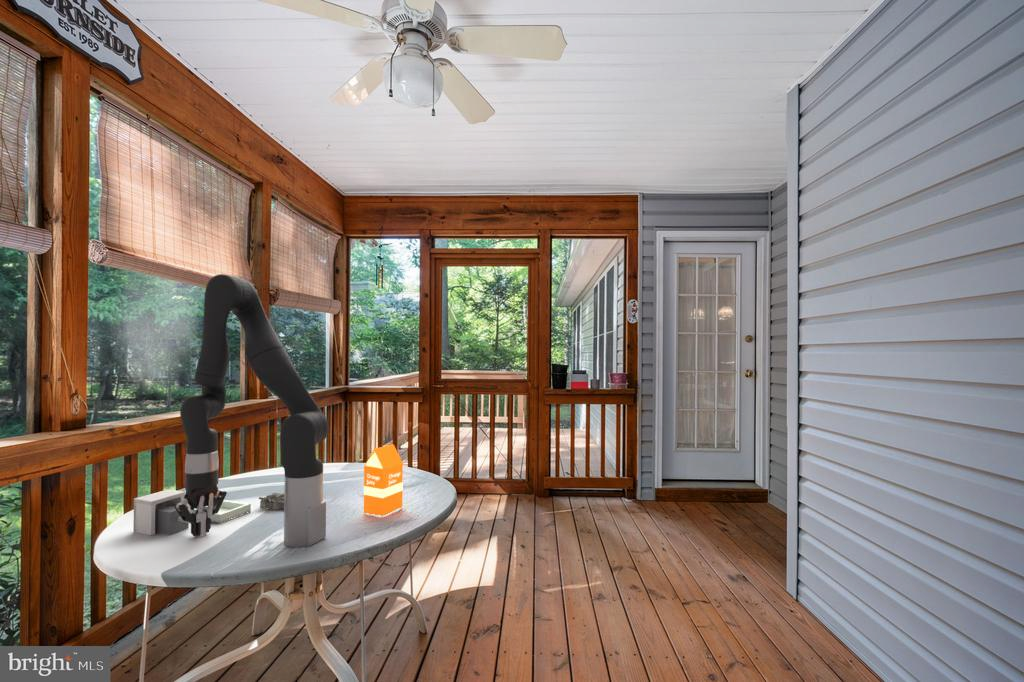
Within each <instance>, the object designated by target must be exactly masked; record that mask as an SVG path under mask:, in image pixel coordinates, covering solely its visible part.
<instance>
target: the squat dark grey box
mask: <svg viewBox="0 0 1024 682" xmlns="http://www.w3.org/2000/svg"><path fill="white" fill-rule="evenodd" d="M174 505H175V504H172V505H169V506H166V507H163V508H159V509H156V510H155V533H159V534H164V535H169V536H171V535H174V534H176V533H175V532H177V533H179V532H182V531H184V529H185V530H187V528H188V529H189V527H190V526H189V525H190V524H191V522H186V521H183V519H182V518H181V517H180V515H179V514H178V512H177V511H176V509H175V508H174ZM187 509H188V510H189V506H188V508H187ZM200 522H201V535H200V536H194V538H195V537H196V538H201V537H203V536H206V535H207V533H206V512H202V513H201V520H200ZM181 530H182V531H181ZM178 531H179V532H178ZM173 533H174V534H173Z"/></svg>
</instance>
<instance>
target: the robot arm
mask: <svg viewBox="0 0 1024 682" xmlns="http://www.w3.org/2000/svg"><path fill="white" fill-rule="evenodd" d="M203 304H204V305H203V319H202V320H203V322H202V337H201V338H202V339H201V345H200V346H201V347H200V353H199V356H198V360H197V365H196V369H195V373H194V382H195V383H196V384H197V385H199V386H201V394H200V393H199V394H194V395H189V396H187V397H186V398H185V399H184V400H183V401H182V403H181V406H180V409H179V410H180V411H179V414H180V415H179V416H180V421H181V422H182V423H181V424H182V427H183V431H184V433H185V436H186V448H185V449H186V454H185V455H186V456H185V461H184V489H185V496H184V500H182V501H181V502H180V503H176V504H175V505H174V508H175V509H176V511H177V512H178V514H179V515H180V517H181V518H182V519H183V521H186V522H191V523H190V534H191V535H192V536H193V537H195V536H200V535H201V522H200V520H201V513H202V512H206V534H207V533H210V530H211V527H212V526H211V525H212V522H211V517H212V515H214V514H217V513H218V511H219V509H220V507H221V505H222V503H223V501H224V500H225V499H226V496H227V495H228V493H227V491H225V490H219V488H218V484H219V471H220V470H219V469H220V468H219V467H220V466H219V463H220V462H219V460H220V459H219V451H218V449H219V447H218V446H219V436H218V434H219V433H218V431H217V430H216V429H215V428H210V427H209V423H208V420H212V419H215V418H217V417H219V416H221V414H222V413H223V411H224V409H225V407H226V397H227V396H226V378H227V373H228V369H229V364H230V360H231V359H230V358H231V351H230V343H229V340H228V335H227V333H228V331H227V324H228V319H229V315H230V312H231V311H232V312H233V313H234V315H235V316H236V318H237V319H238V321H239V323H240V324H241V327H242V329H243V331H244V349H245V356H246V360H247V362H248V363H249V365H250V367H251V369H252V370H253V373H254V374H255V376H256V378H257V379H258V380H259V382H260V383H261V384H262V385H263V386H264V387H265V388H267V389H268V390H269V391H270V392H271V393H272V394H273V395H275V396H276V397H277V398H278V399H279V400H280V401H282V403H283V405H285V408H286V409H287V410H288V412H289V414H290V416H288V417H286V418H285V419H284V421H283V422H282V424H281V427H280V434H279V435H280V436H279V437H280V440H279V441H280V459H281V464H282V468H283V470H284V471H283V472H284V488H283V489H284V508H283V514H284V515H283V518H284V519H283V543H284V546H287V547H291V548H297V547H298V548H299V547H308V546H309V547H310V545H311V546H312V544H313V545H314V543H315V544H317V543H319V542H320V541H322V540H324V539H326V538H325V537H327V536H326V534H327V532H326V531H327V502H326V501H324V463H323V461H322V460H321V459H318V458H317V457H316V445H319V444H320V443H322V442H323V441H325V440H326V438H327V437H328V435H329V429H330V427H329V426H330V425H329V421H328V419H327V417H326V416H325V414H324V413H323V411H322V409H321V408H320V407H319V405H318V404H317V402H316V401H315V399H314V398H313V397H312V395H311V394H310V393H309V391H308V389H307V387H306V385H305V384H304V382H303V380H302V378H301V376H300V375H299V373H298V371H297V370H296V367H295V366H294V364H293V362H292V359H291V358H290V356H289V354H288V352H287V350H286V349H285V347H284V345H283V343H282V341H281V340H280V338H279V337H278V334H277V333H276V331H275V329H274V328H273V325H272V323H271V322H270V320H269V318H268V316H267V313H266V312H265V311H266V310H265V309H264V307H263V304H262V301H261V299H260V296H259V294H258V292H257V290H256V288H255V286H254V285H253V284H252V283H251V282H250V281H249V280H247V279H245V278H242V277H238V276H234V275H230V274H225V273H224V274H223V273H222V274H216V275H214V276H212V277H211V278H210V279H209V280H208V281H207V284H206V286H205V292H204V303H203ZM187 503H188V504H189V505H190V506H189V510H188V509H187V508H188V505H187ZM215 506H216V507H215ZM214 508H215V509H214ZM323 538H324V539H323ZM321 539H322V540H321ZM319 540H320V541H319ZM316 542H317V543H316Z"/></svg>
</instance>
